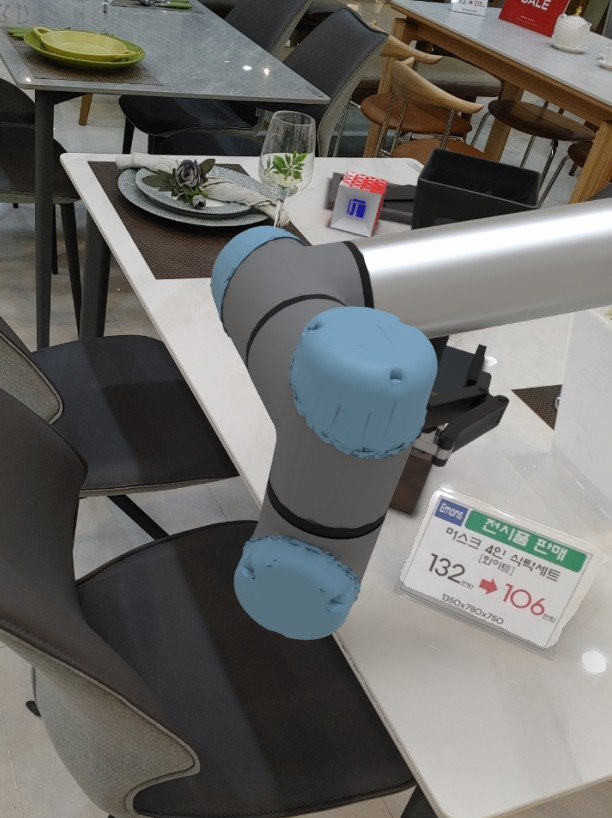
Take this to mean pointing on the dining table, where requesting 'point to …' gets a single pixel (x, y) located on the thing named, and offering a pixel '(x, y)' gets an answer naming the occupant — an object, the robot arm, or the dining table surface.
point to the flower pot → (471, 189)
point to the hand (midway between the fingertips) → (406, 335)
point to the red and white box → (358, 203)
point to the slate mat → (452, 370)
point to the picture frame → (385, 200)
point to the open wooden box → (412, 478)
